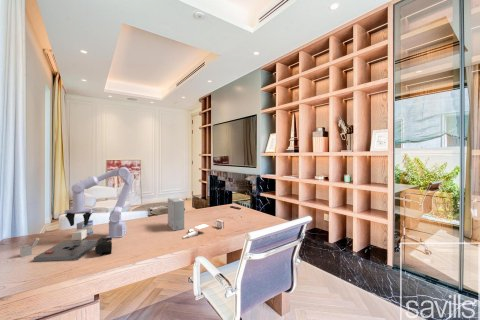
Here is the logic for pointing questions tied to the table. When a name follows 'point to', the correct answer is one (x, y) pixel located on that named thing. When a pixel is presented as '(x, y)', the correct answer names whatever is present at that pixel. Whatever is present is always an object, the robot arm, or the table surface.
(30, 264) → the table surface
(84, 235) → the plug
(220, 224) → the white jointed pieces
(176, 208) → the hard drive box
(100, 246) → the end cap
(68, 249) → the socket
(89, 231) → the medicine box
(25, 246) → the grey angled bar block
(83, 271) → the table surface
